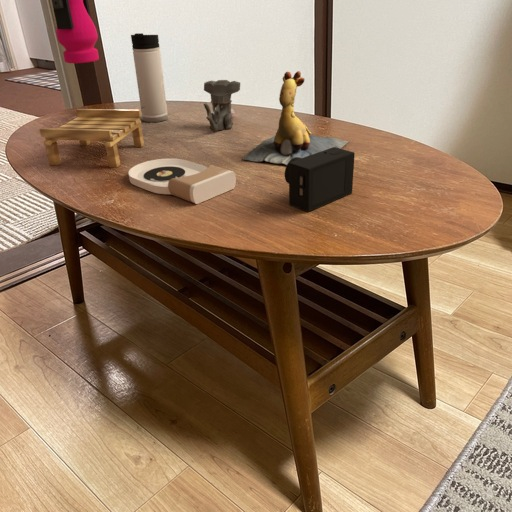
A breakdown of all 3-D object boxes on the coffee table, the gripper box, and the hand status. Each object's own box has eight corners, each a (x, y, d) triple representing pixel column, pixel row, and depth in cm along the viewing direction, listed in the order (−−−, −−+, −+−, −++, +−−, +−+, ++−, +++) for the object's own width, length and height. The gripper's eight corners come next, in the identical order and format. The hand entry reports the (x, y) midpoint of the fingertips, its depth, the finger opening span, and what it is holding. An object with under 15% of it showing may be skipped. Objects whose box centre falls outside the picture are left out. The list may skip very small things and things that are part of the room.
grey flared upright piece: (266, 122, 122) (265, 78, 117) (207, 140, 112) (203, 92, 107) (225, 112, 131) (223, 71, 126) (168, 128, 121) (162, 84, 116)
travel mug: (137, 122, 126) (124, 33, 116) (148, 115, 131) (137, 30, 121) (161, 123, 124) (150, 33, 114) (171, 116, 130) (162, 30, 120)
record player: (186, 189, 79) (114, 163, 92) (188, 207, 81) (117, 179, 93) (240, 168, 86) (166, 146, 99) (241, 185, 88) (168, 162, 100)
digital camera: (327, 184, 87) (328, 144, 84) (352, 193, 84) (355, 151, 80) (283, 202, 82) (282, 160, 78) (308, 212, 78) (309, 168, 74)
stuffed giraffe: (241, 159, 99) (242, 72, 91) (278, 136, 114) (281, 59, 106) (321, 172, 93) (328, 81, 86) (348, 146, 108) (357, 66, 100)
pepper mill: (55, 61, 97) (28, -63, 88) (89, 56, 102) (67, -63, 92) (73, 65, 93) (47, -66, 83) (109, 59, 97) (88, -66, 87)
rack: (48, 166, 100) (39, 129, 96) (85, 142, 113) (78, 108, 109) (115, 168, 98) (109, 130, 94) (145, 144, 110) (140, 109, 107)
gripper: (33, -141, 74) (68, 32, 85) (94, -123, 91) (116, 20, 102) (-14, -137, 75) (27, 33, 87) (55, -120, 92) (81, 21, 103)
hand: (75, 26), depth 94 cm, fingers closed on pepper mill, 6 cm apart
